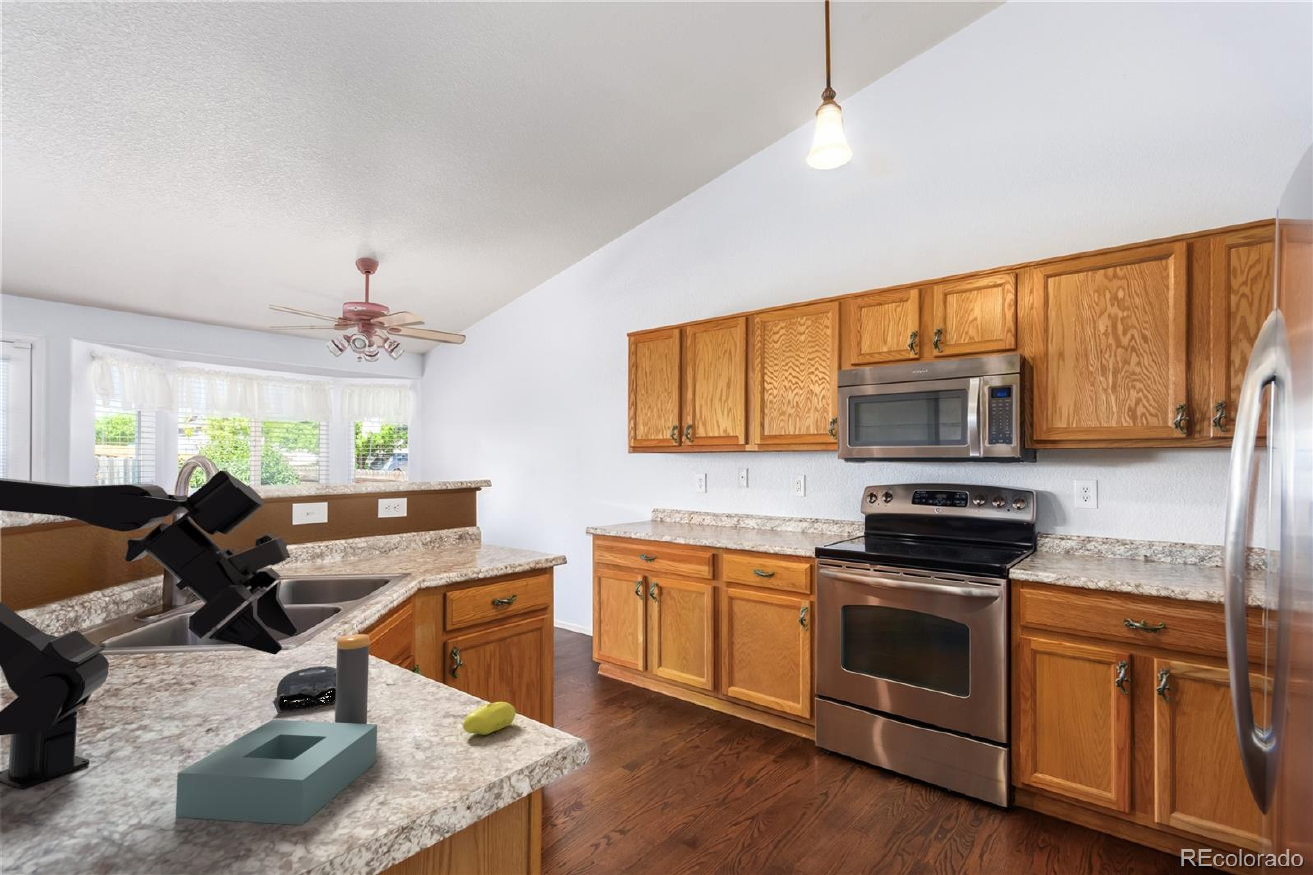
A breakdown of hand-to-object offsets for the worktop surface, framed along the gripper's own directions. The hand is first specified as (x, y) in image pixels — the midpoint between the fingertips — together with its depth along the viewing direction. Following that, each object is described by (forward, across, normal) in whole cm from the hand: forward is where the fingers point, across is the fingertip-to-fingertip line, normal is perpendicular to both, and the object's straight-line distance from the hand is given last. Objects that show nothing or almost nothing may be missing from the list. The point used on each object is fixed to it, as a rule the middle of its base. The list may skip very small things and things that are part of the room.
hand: (287, 642), depth 84 cm
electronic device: (+10, +19, +10) cm, 24 cm away
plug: (+15, 0, +3) cm, 15 cm away
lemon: (+28, -5, -10) cm, 30 cm away
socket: (+12, -13, +7) cm, 19 cm away
